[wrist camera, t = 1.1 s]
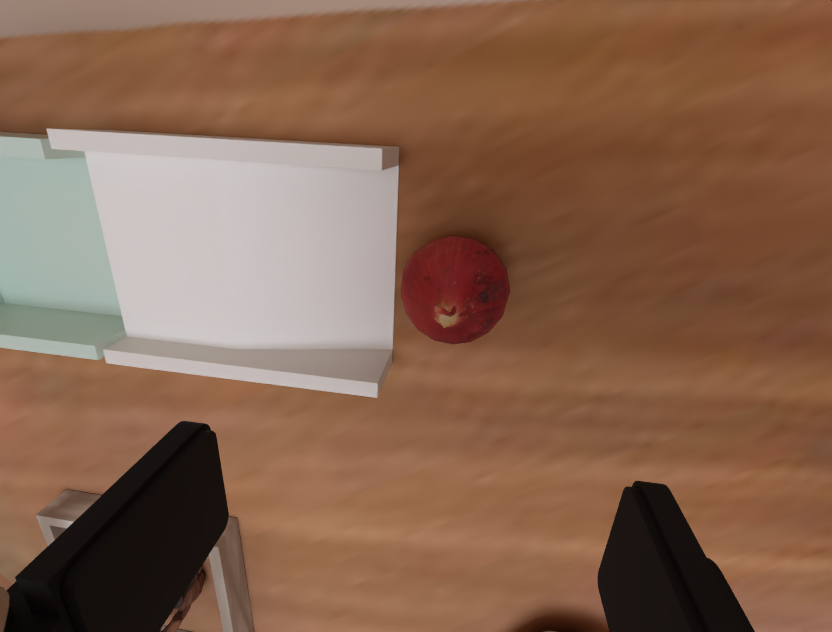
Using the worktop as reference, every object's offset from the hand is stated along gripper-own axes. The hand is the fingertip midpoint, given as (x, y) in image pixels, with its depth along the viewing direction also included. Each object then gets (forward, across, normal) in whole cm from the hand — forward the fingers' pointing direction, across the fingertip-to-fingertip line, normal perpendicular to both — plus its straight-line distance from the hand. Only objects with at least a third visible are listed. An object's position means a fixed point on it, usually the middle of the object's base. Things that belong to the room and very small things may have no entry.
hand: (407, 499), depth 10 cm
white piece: (+20, +13, 0) cm, 23 cm away
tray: (+19, +28, 0) cm, 34 cm away
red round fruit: (+19, 0, 0) cm, 19 cm away
